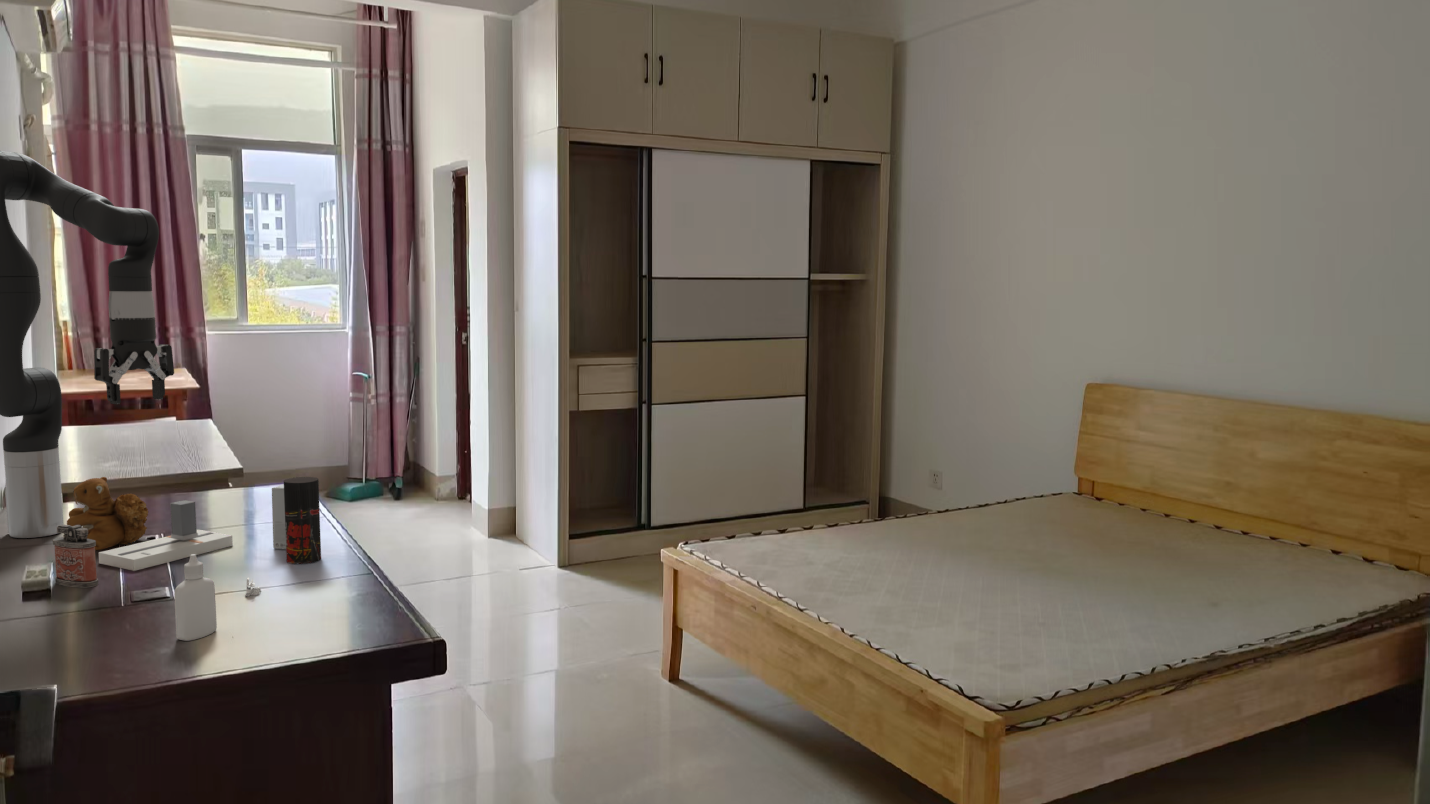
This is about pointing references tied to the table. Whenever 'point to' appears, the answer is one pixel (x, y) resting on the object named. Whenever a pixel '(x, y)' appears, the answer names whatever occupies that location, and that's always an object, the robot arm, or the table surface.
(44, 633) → the table surface
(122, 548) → the panel
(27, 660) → the table surface
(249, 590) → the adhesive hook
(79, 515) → the stuffed squirrel
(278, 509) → the skincare box
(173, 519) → the fader
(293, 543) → the deodorant
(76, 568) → the lighter
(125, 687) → the table surface
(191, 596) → the eye dropper bottle
